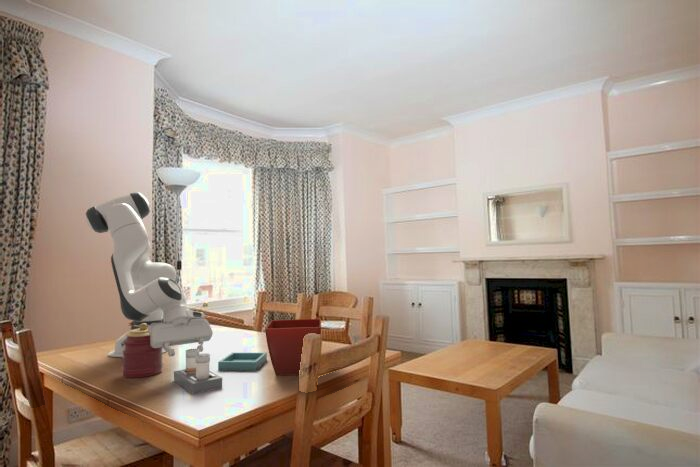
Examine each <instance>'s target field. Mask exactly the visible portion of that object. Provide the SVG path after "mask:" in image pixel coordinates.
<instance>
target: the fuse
mask: <svg viewBox="0 0 700 467" xmlns="http://www.w3.org/2000/svg"><path fill="white" fill-rule="evenodd" d="M210 361H211V354H210V353H208V352H207V353H199V354H198V355H196V379H197V381H200V380H205V379H209V371H210Z"/></svg>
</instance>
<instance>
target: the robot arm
mask: <svg viewBox="0 0 700 467" xmlns="http://www.w3.org/2000/svg"><path fill="white" fill-rule="evenodd" d="M150 206H151V205H150V203H149V200H148V199H147V198H146V197H145V196H144V195H143V194H142V193H141V192H139V191H138V192H131V193H129V194H126V195H121V196H117V197H113V198H112V199H110V200H107V201H105V202H102V203H100V204H98V205H96V206H95V205H94V206H92V207H90V208H88V209H87V210H86V213H85V220H86V221H85V222H86V223H87V225H88V227H90V229H91V230H92V231H94V232H96V233H97V234H101V233H102V234H103V233H107V232H109V234H110V236H111V237H112V240H113V241H112V242H113V251H112V252H113V253H112V255H111V257H110V263H111V268H112V272H113V275H114V280H115V283H116V286H117V291H118V295H119V304H120V305H119V306H120V310H121V312H122V315H123V316H124V318H126V319H127V320H130V321H131V322H129V323H127V324H128V325H127V326H128V327H130V329H129V330H128V331H126V332H125V333H124V334H122V335H121V336H120V337H118V339H117V340H116V341H115V344H114V349H113V350H111V351H109V353H108V354H107V356H108V357H114V358H123V352H122V351H123V350H124V344H123V340H125V339H126V337H127V336H125V334H126V333H128V332H130V330H133V329H138V328H139V326H140V324H142V323H146V324H147V326H148V327H147V329H148V333H149V334H150V344H151V347H153V348H160V347H163V349H162V354H164V353H167V354H168V357H170V358H171V357H174V356H175V354H176V352H175V349H174V348H171V347H174V346H175V347H176V346H180V345H188V344H189V345H190V344H195V343H198V345H197V347H196V349H199V353H202V352H203V351H204V343H205V342H209V341H210V340H211V338H212V337H213V329H212V327H211V324H210V323H209V321H208V319H206V315H205V313H204V312H200V311H195V310H192V309H189V307H188V306H187V299H186V296H185V293H184V291H183V290H182V287H181V286H180V284H178V283H177V282H176V279H177V270H176V268H175V267H174V266H173V265H171V264H170V263H166V262H163V261H162V262H159V261H158V262H157V261H155V262H152V261H151V258H150V257H149V256H150V255H149V253H150V252H151V250H152V244H151V243H150V240H149V239H150V236H149V234H148V230H147V229H146V227H145V225H144V222H143V221H142V220H143V219H145V218H146V217H147V216H148V215H149V214H150V212H151V211H150V210H151V209H150ZM135 287H136V288H139V289H135Z"/></svg>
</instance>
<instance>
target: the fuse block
mask: <svg viewBox="0 0 700 467" xmlns="http://www.w3.org/2000/svg"><path fill="white" fill-rule="evenodd" d="M173 381H174V382H176V383H177V384H178V385H180V386H181V387H183V388H184V389H185V390H187V392H189V393H191V394H192V395H195V394H200V393H204V392H209V391H213V390H216V389H217V390H218V389H221V388H223V377H222V376H220V375H218V374H217V373H214V372H212V371H211V370H209V379H205V380H200V381H197V379H196V373H193V374H188V375H187V373H186V368H183V369H179V370H174V371H173Z"/></svg>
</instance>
